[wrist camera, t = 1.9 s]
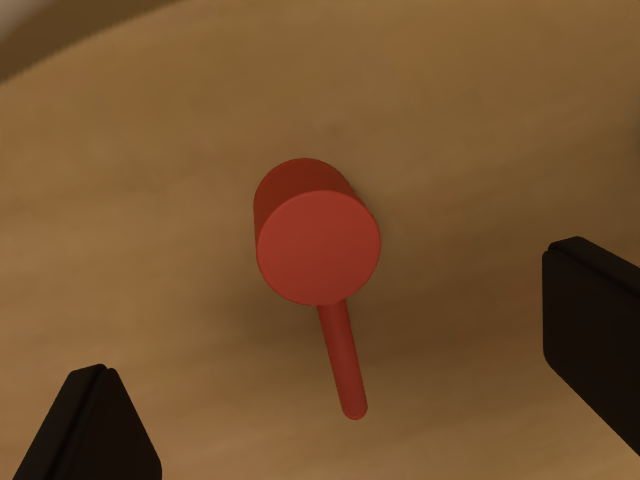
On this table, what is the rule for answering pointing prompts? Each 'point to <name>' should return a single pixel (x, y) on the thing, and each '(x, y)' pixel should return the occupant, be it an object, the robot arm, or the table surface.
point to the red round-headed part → (318, 256)
